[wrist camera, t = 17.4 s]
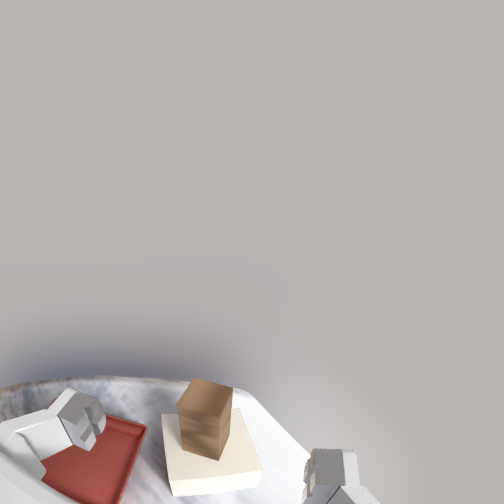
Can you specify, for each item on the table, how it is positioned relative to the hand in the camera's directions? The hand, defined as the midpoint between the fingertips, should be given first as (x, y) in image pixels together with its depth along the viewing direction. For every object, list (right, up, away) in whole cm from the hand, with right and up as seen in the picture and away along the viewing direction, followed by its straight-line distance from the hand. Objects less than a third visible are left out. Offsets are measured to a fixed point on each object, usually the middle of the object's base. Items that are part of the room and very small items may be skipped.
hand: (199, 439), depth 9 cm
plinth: (-5, -25, +27) cm, 37 cm away
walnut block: (-4, -19, +25) cm, 32 cm away
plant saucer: (-24, -25, +22) cm, 41 cm away
